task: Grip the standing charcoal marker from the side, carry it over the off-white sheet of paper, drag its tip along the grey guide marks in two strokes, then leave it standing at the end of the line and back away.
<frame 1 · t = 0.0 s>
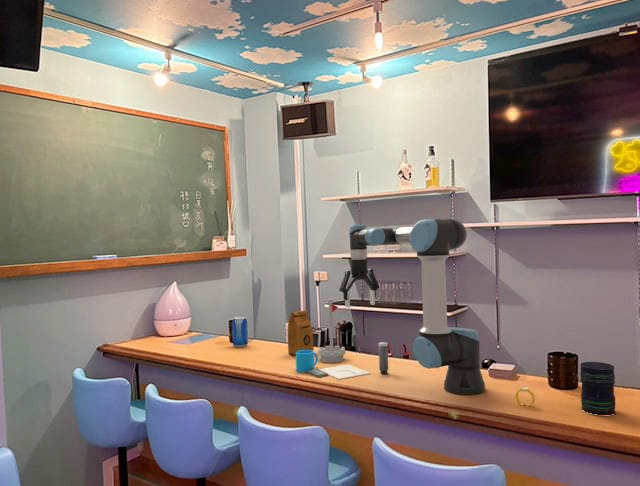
hand: (360, 306, 230), 28 cm above the table, tool pointing down, fingers open, 13 cm apart
mug: (308, 369, 231), on the table
paper: (343, 372, 224), on the table
storage jar: (598, 411, 166), on the table
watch: (525, 405, 174), on the table
coffee package: (301, 353, 263), on the table
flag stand: (332, 360, 248), on the table
beer can: (240, 346, 286), on the table
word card: (317, 374, 222), on the table
marker: (384, 373, 220), on the table
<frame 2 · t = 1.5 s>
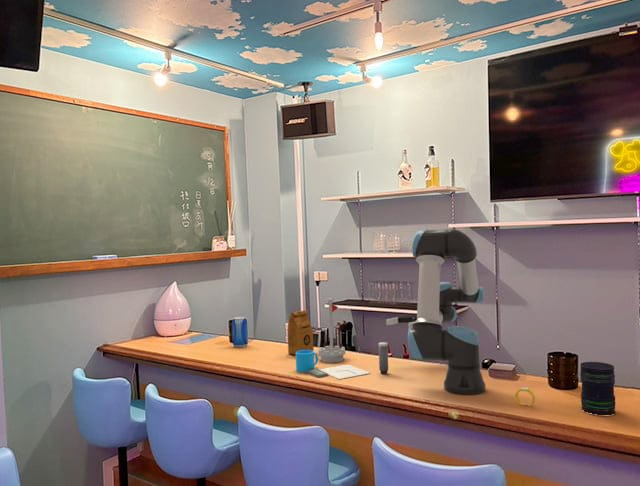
hand: (397, 324, 225), 20 cm above the table, tool horizontal, fingers open, 13 cm apart
nothing on the table moved.
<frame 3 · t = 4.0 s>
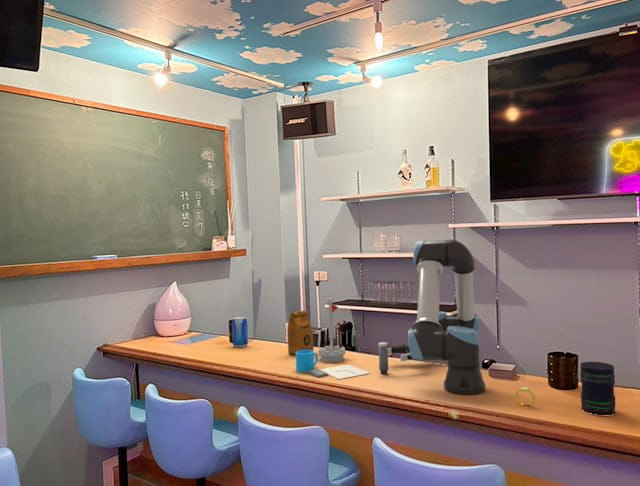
hand: (390, 355, 223), 7 cm above the table, tool horizontal, fingers open, 13 cm apart
nothing on the table moved.
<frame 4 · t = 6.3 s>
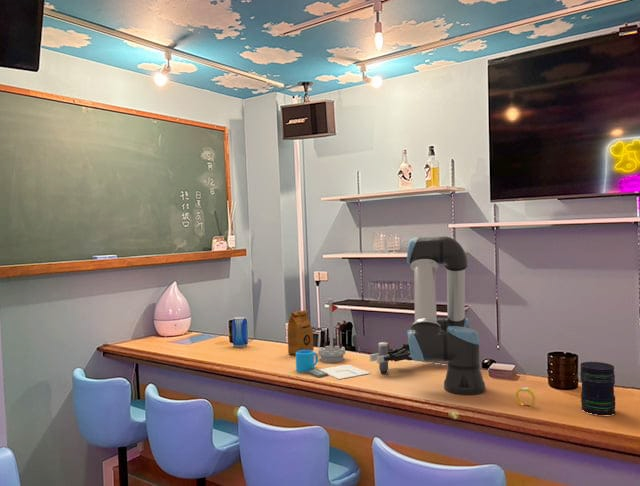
hand: (374, 359, 217), 7 cm above the table, tool horizontal, fingers closed on marker, 4 cm apart
marker: (383, 373, 220), on the table, touching gripper
everything else where it was.
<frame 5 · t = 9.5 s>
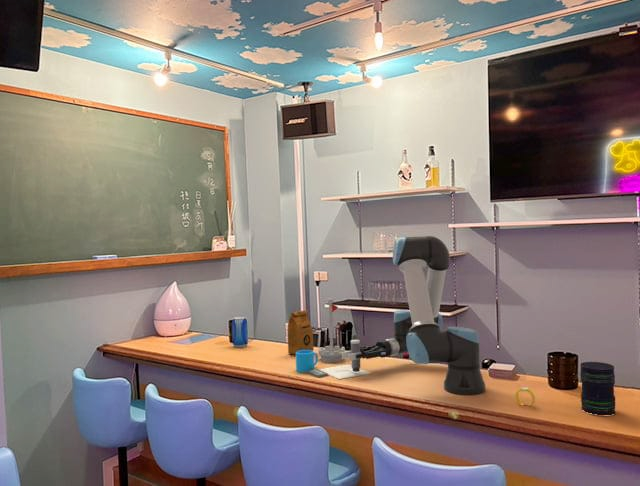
hand: (345, 356, 216), 9 cm above the table, tool horizontal, fingers closed on marker, 4 cm apart
marker: (356, 370, 219), point 2 cm above the table, touching gripper
everything else where it was.
when the fingers open (8 cm above the table, at t = 12.9 s): marker stays where it is, resting on paper.
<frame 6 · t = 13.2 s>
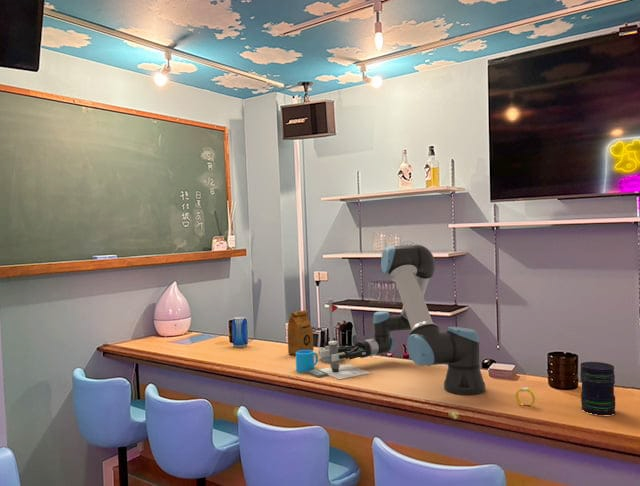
hand: (326, 356, 221), 8 cm above the table, tool horizontal, fingers open, 8 cm apart
marker: (335, 371, 224), point 1 cm above the table, touching paper
everything else where it was.
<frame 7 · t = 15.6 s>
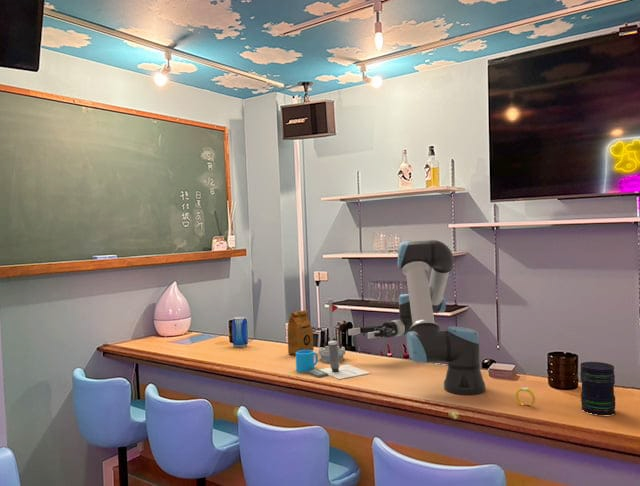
hand: (358, 334, 230), 15 cm above the table, tool horizontal, fingers open, 13 cm apart
nothing on the table moved.
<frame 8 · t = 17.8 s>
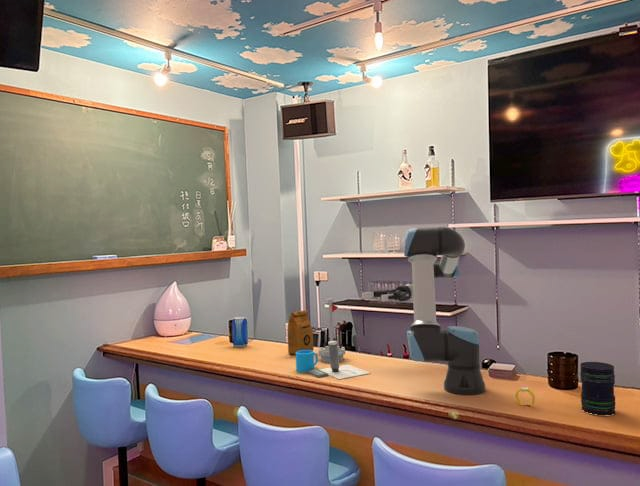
hand: (371, 297, 229), 32 cm above the table, tool horizontal, fingers open, 13 cm apart
nothing on the table moved.
at the end: marker inside the target area (3.5 cm from its centre), point 0.5 cm above the table; marker tilted 4°; the gripper is holding nothing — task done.
